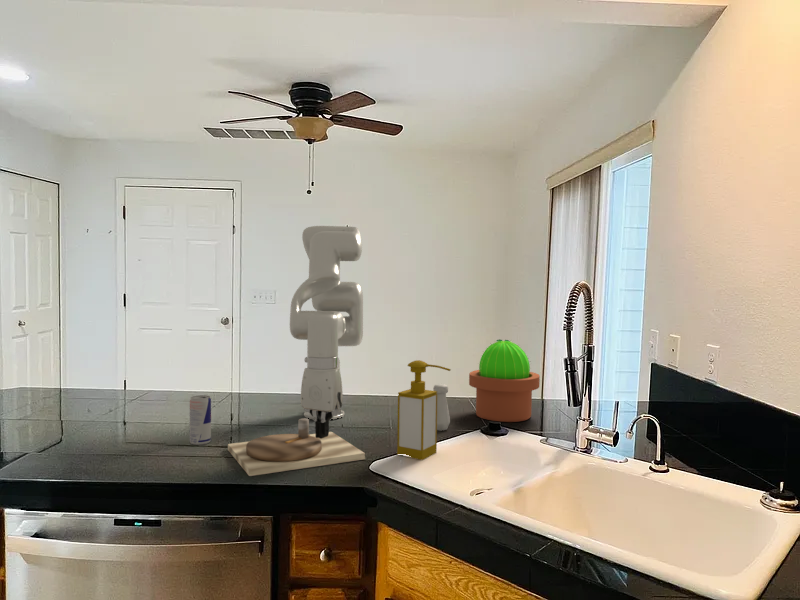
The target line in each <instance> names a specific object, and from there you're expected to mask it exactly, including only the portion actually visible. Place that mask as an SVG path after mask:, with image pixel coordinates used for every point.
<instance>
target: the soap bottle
mask: <svg viewBox="0 0 800 600" xmlns="http://www.w3.org/2000/svg"><path fill="white" fill-rule="evenodd" d="M407 367H410V373H414V380H411V381H410V388H409V389H406V390H402V391H399V392H398V393H397V433H396V434H397V437H396V438H397V439H396V440H397V443H396V444H397V446H396V447H397V449H396V455H397V454H406V455H409V456H411V457H412V458H411V459H415V460H419V461H423V460H425V459H427V458H429V457H431V456H433V455H435V454H437V442H438V441H437V438H438V437H437V435H438V434H437V432H438V430H437V394H436V393H437V391H433V390H429V389H426V381H424V380H422V373H426V371H427V370H426V369H427V368H428V367H431V368H439V369H442V370H445V371H449V372H450V371H451V370H452V369H451V368H448V367H445V366H441V365H437V364H429V363H428V362H425V361H423V360H417V359H416V360H413V361H411V362H409V363H408V364H407Z"/></svg>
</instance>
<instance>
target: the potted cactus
mask: <svg viewBox="0 0 800 600" xmlns="http://www.w3.org/2000/svg"><path fill="white" fill-rule="evenodd" d="M493 342H494V343H490V345H489V346H487V347H486V348H485V351H482V352H483V353H482V355H480V360H479V363H478V364H479V365H478V368H479V369H475V370H472V371H470V372H469V375H468V376H469V377H468V378H469V379H468V385H469V386H470V387H472V388H475V390H476V391H475V392H476V393H475V394H476V395H475V413H476V414H475V415H476V417H478V418H481V419H483V420H487V421H493V422H499V423H500V422H502V423H503V422H504V423H517V422H524V421H527V420H529V419H530V418H531V417H532V407H533V405H532V403H533V401H532V400H533V398H532V397H533V396H532V395H533V393H532V392H533V391H534V390H535V391H536V390H538V389H539V388H540V385H541V384H540V380H541V379H540V378H541V377H540V374H538V373H536V372H533V371H530V370H531V366H530V365H531V364H530V362H531V361H529V359H530V358H529V357H528V355H527V353H526V351H525V350H524V349H522V347H521V346H520V344H518V343H515V342H513V341H511V340H510V339H509V340H508V339H505V340H503V339H497V340H494V341H493Z"/></svg>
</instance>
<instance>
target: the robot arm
mask: <svg viewBox="0 0 800 600" xmlns="http://www.w3.org/2000/svg"><path fill="white" fill-rule="evenodd" d="M301 238H302V244H303V248H304V250H305V253H306V256H307V258H308V260H309V262H308V264H309V265H308V277H307V279H306V280H305V281H304V282H302V283H301V284H300V285H299V287H297V289H296V290H295V292H294V294H293V296H292V298H291V303H290V314H289V332H290V335H291V336H292V337H293V338H294V339H295V340H300V341H301V340H303V341H305V340H306V341H307V344H306V345H307V346H306V347H307V349H306V350H307V353H306V355H307V356H306V357H304V363H306V364H307V365H306V366H307V367H305V368H304V371H303V372H302V373H303V374H302V378H301V379H302V380H301V387H300V406H301V407H302V408H303V411H304V412H303V416H304V418H306V419H308V418H309V420H313V421H314V422H315V423H314V425H315V427H314V428H315V429H314V431H315V434H316V438H321V439H322V438H324V437H327V436H328V434H329V432H330V421H331V419H333V420H337V418H339V419H341V417H342V418H344V416H345V411H344V410H342V406H343V399H344V397H343V396H344V395H343V394H344V393H343V381H342V376H341V362H340V357H339V347H357V346H360V344H361V343H362V341H363V336H364V335H363V334H364V294H363V289H362V287H361V285H360V284H359V283H358V282H354V281H341V262H357V261H359V260H360V259H361V255H362V252H363V251H362V250H363V244H362V243H363V242H362V240H363V239H362V237H361V232H360V230H359V228H357V227H356V226H345V225H343V226H336V225H335V226H334V225H314V226H313V225H312V226H307V227H305V228H304V229H303V232H302V237H301ZM309 300H311V303H312V308H313V309H314V310H302V307H303V305H304V304H305V303H306V302H307V301H309ZM342 313H347V314H348V315H343V314H342Z"/></svg>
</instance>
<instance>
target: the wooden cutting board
mask: <svg viewBox="0 0 800 600" xmlns="http://www.w3.org/2000/svg"><path fill="white" fill-rule="evenodd" d="M309 435H310V436H313V437H316V433H309ZM318 439H320V440H321V442H322V449H321V451H320V452H319V453H318V454H316V455H314V456H311V457H308V458H304V459H299V460H291V461H266V460H260V459H255V458H252V457H250V456H249V455H247V453H246V445H247V443H248V442H249V441H243V442H241V441H240V442H234V443H228V444H227V451H228V452H229V453H230V454H231V456H232V457H233V459H235V460H236V461H237V463H238V464H239V465H240V466H241V468H242V469H243V470H244V472H245V473H246V474H247V475H248V476H249V477H252V476H261V475H266V474H267V475H268V474H272V473H273V474H274V473H279V472H286V471H287V472H288V471H294V470H295V471H296V470H301V469H307V468H314V467H315V468H316V467H321V466H329V465H335V464H341V463H349V462H356V461H362V460H366V453H365V452H363V450H361V449H359V448H358V447H356V446H354V445H353V444H352V443H350V442H348V441H347V440H345V439H344V438H343V437H340V436H339V435H337V434H336V433H335V432H332V431H329V434H328V436H327V437H324V438H322V439H321V438H318Z"/></svg>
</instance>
